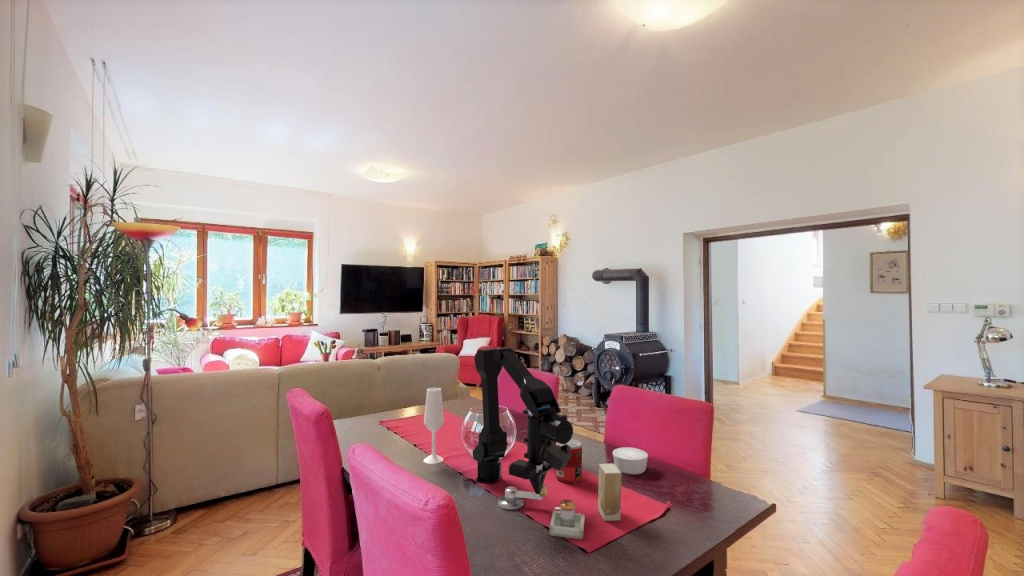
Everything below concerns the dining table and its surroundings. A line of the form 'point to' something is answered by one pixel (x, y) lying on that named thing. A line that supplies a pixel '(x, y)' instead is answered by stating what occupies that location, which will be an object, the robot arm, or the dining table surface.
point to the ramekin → (630, 460)
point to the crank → (523, 494)
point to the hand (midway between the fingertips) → (537, 493)
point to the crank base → (508, 506)
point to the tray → (567, 531)
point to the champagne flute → (433, 419)
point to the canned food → (572, 463)
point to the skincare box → (609, 492)
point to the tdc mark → (557, 508)
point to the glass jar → (567, 513)
